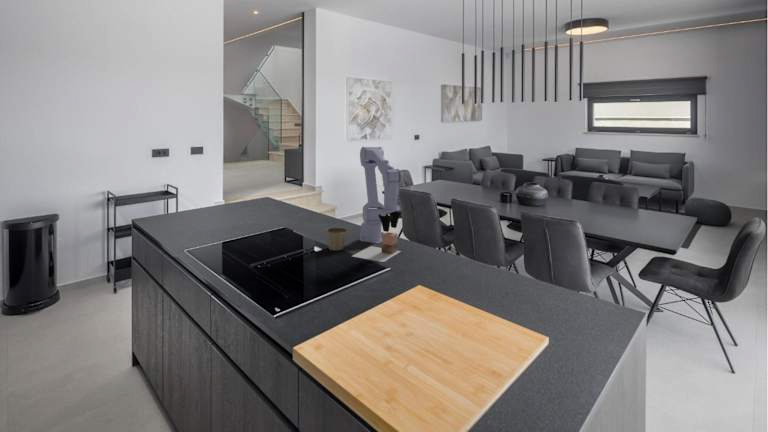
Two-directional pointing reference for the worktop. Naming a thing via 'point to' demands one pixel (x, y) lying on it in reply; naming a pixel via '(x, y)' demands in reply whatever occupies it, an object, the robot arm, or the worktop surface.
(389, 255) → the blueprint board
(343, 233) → the flower pot
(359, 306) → the worktop surface
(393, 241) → the terracotta block
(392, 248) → the walnut block
